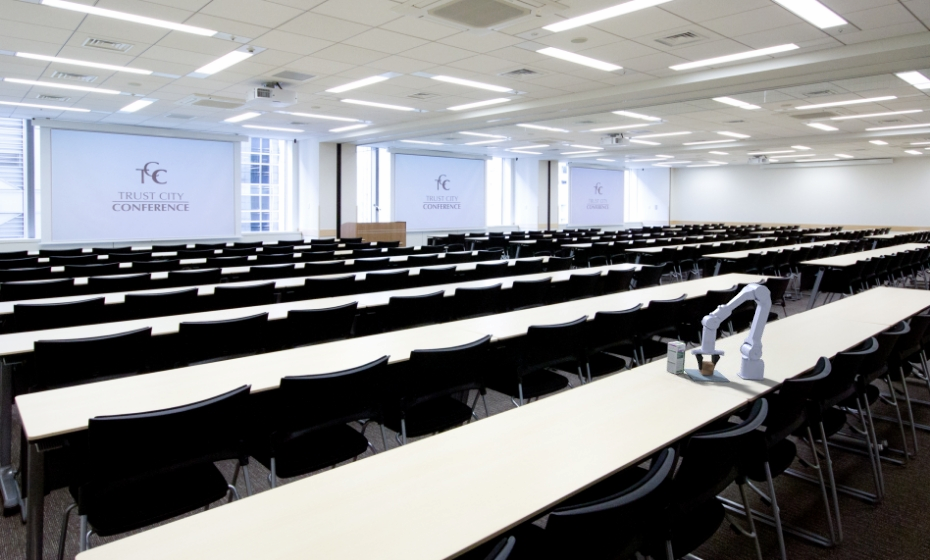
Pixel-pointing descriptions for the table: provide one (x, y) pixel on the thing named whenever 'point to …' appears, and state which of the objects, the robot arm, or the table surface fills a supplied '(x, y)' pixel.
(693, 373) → the slate board
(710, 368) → the walnut cube
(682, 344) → the syrup box
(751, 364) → the robot arm
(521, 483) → the table surface
